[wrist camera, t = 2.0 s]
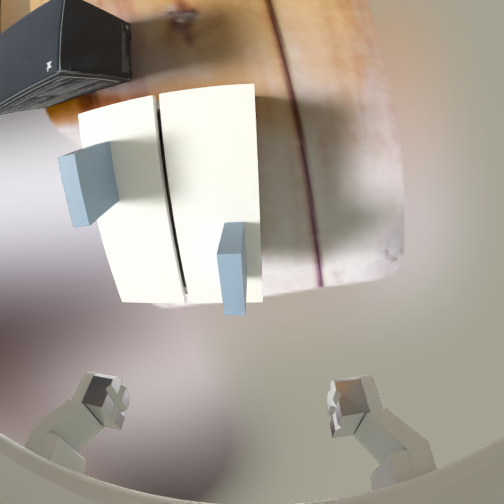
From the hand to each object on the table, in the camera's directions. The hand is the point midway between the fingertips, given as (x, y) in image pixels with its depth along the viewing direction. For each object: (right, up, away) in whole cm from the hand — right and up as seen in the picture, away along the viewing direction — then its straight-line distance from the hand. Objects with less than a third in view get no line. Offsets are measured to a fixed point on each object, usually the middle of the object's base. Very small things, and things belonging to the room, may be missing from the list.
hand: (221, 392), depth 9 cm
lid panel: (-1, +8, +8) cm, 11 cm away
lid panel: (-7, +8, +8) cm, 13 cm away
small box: (-15, +23, +9) cm, 28 cm away
